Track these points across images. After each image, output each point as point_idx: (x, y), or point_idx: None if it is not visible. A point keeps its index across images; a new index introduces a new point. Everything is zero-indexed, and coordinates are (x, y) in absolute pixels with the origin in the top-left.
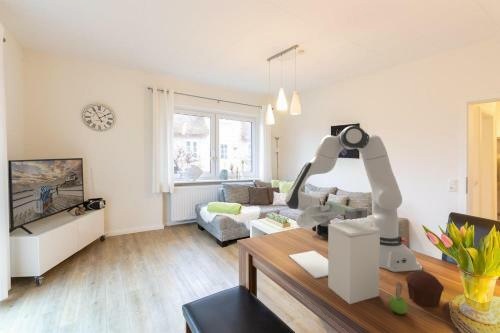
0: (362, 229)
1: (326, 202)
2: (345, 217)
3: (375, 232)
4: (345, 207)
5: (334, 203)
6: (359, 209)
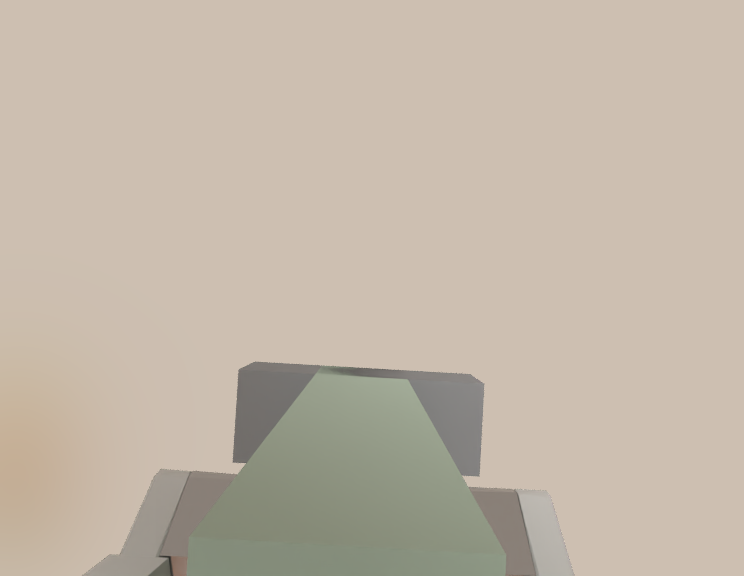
0: None
1: (487, 536)
2: (477, 470)
3: None
4: (398, 389)
5: (358, 447)
6: (320, 369)
